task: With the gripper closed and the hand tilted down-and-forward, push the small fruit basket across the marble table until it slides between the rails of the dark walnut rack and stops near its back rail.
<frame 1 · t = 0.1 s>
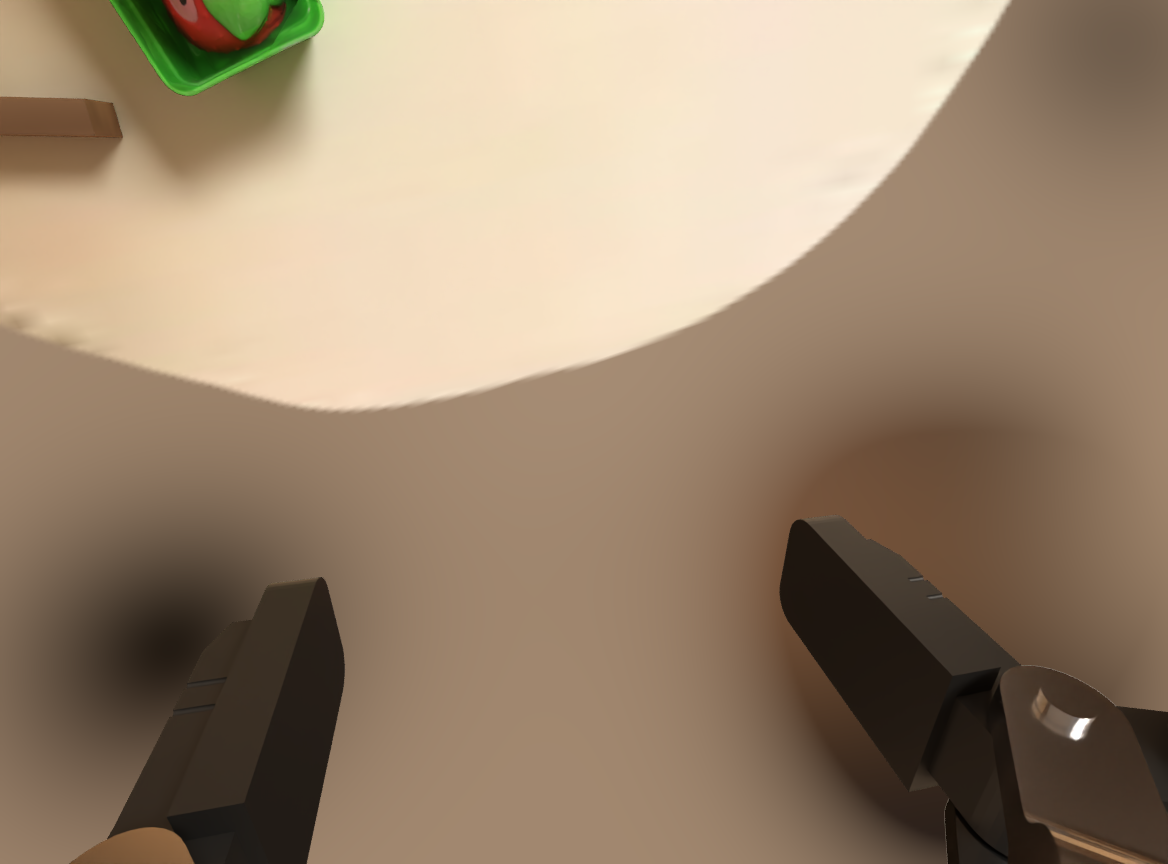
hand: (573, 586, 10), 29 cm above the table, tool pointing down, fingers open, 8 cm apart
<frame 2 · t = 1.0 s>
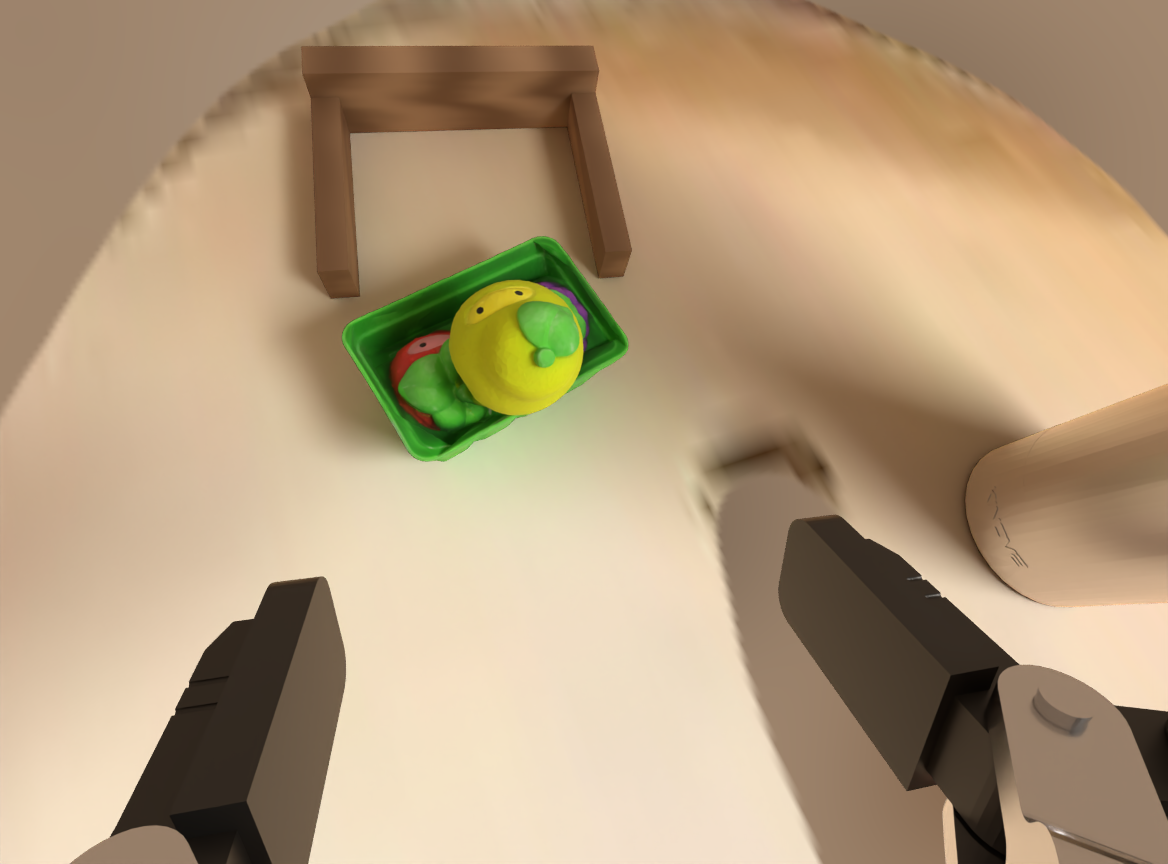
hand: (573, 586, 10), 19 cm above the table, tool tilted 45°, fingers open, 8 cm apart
fruit basket: (497, 393, 31), on the table
rack: (469, 187, 35), on the table
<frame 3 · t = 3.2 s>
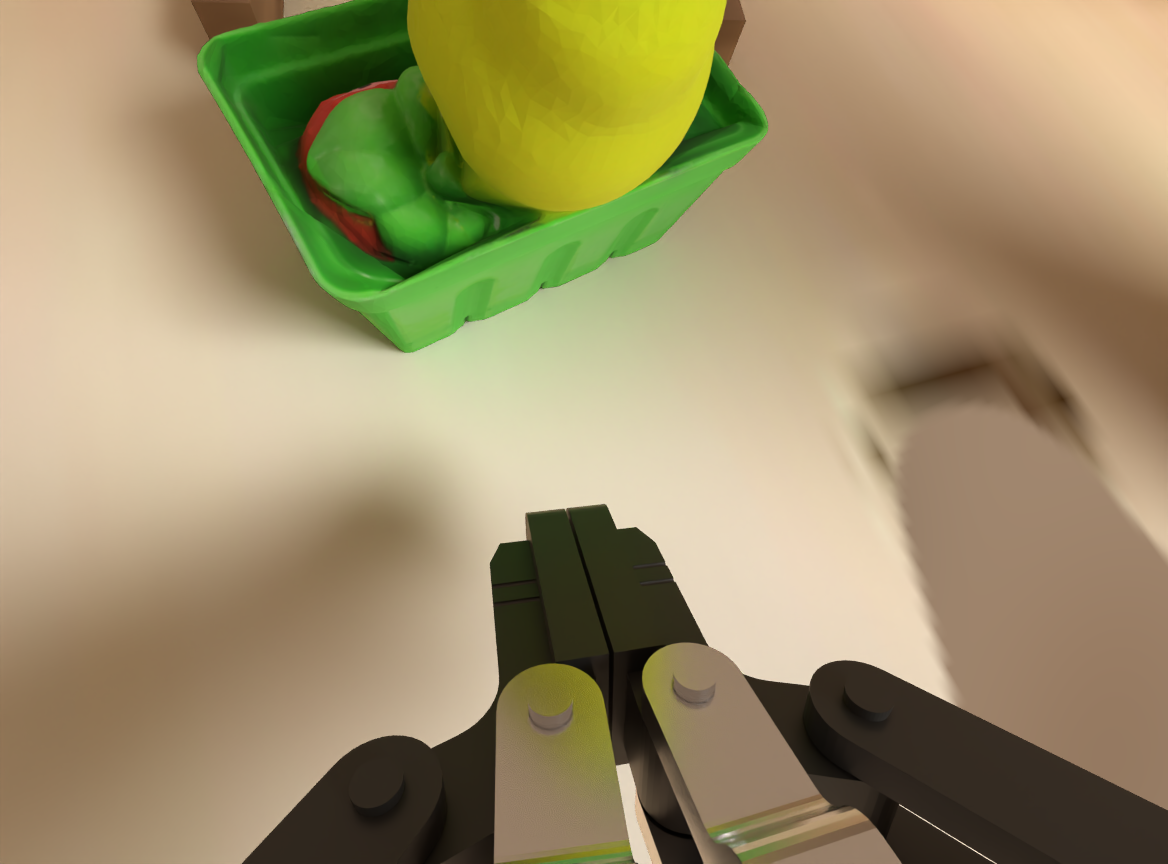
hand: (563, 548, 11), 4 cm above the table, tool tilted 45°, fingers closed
fruit basket: (511, 250, 18), on the table
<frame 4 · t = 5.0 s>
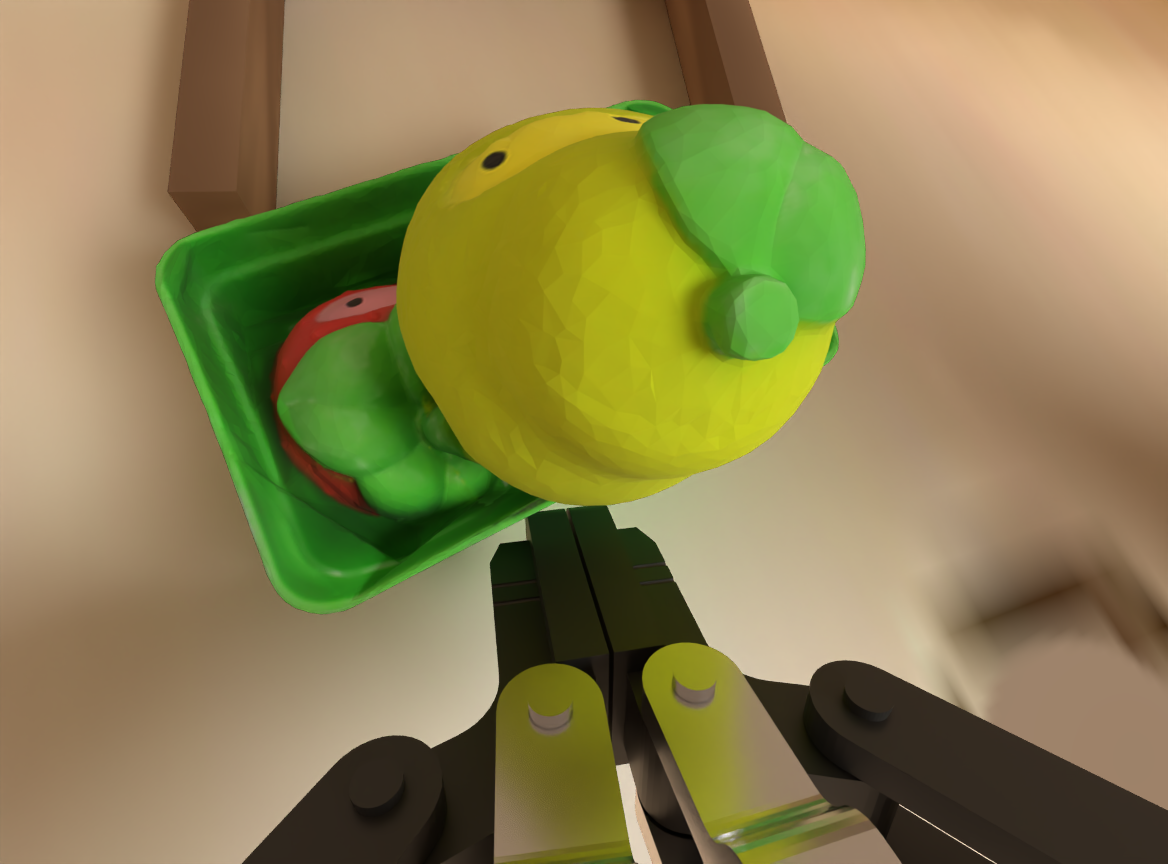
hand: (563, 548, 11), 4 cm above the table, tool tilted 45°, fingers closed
fruit basket: (526, 426, 16), on the table, touching gripper
rack: (495, 75, 20), on the table
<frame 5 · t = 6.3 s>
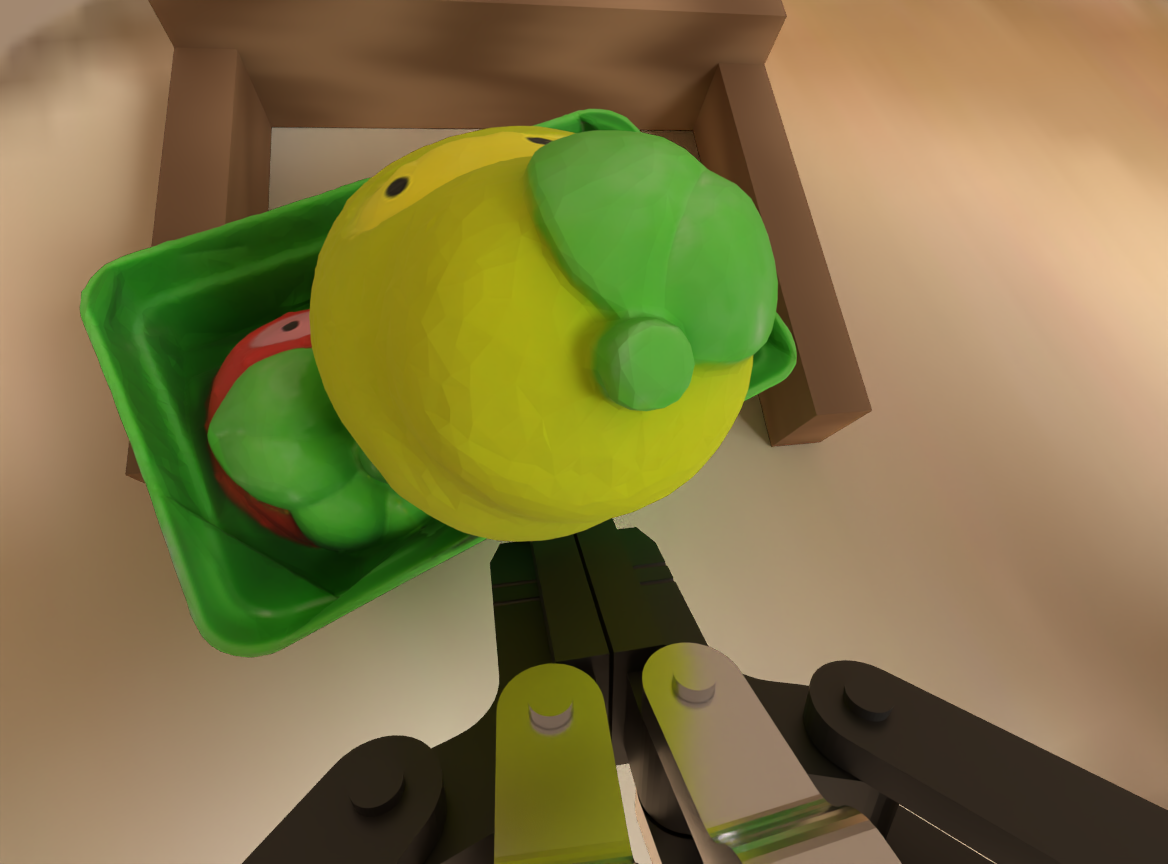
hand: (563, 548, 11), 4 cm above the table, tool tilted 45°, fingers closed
fruit basket: (488, 443, 15), on the table, touching gripper
rack: (508, 245, 17), on the table
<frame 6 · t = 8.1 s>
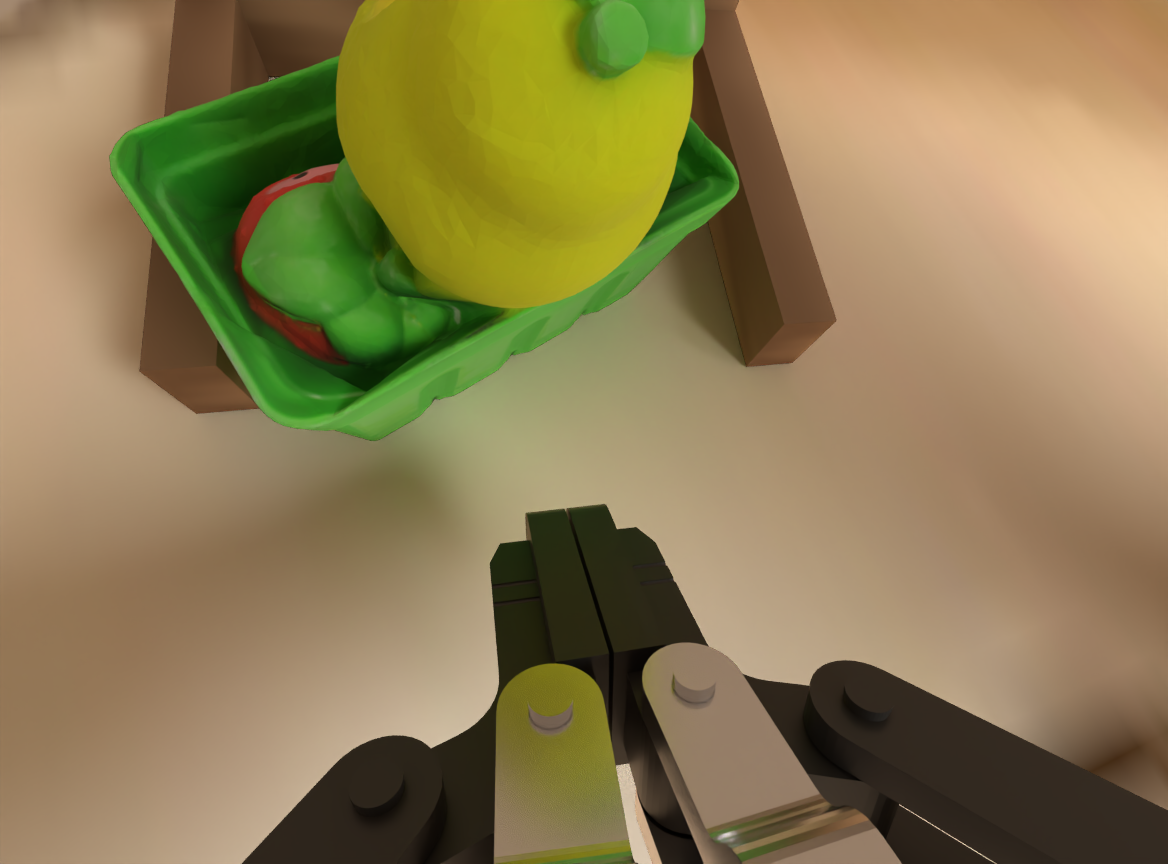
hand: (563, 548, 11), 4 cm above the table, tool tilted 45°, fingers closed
fruit basket: (476, 314, 17), on the table
rack: (495, 184, 18), on the table
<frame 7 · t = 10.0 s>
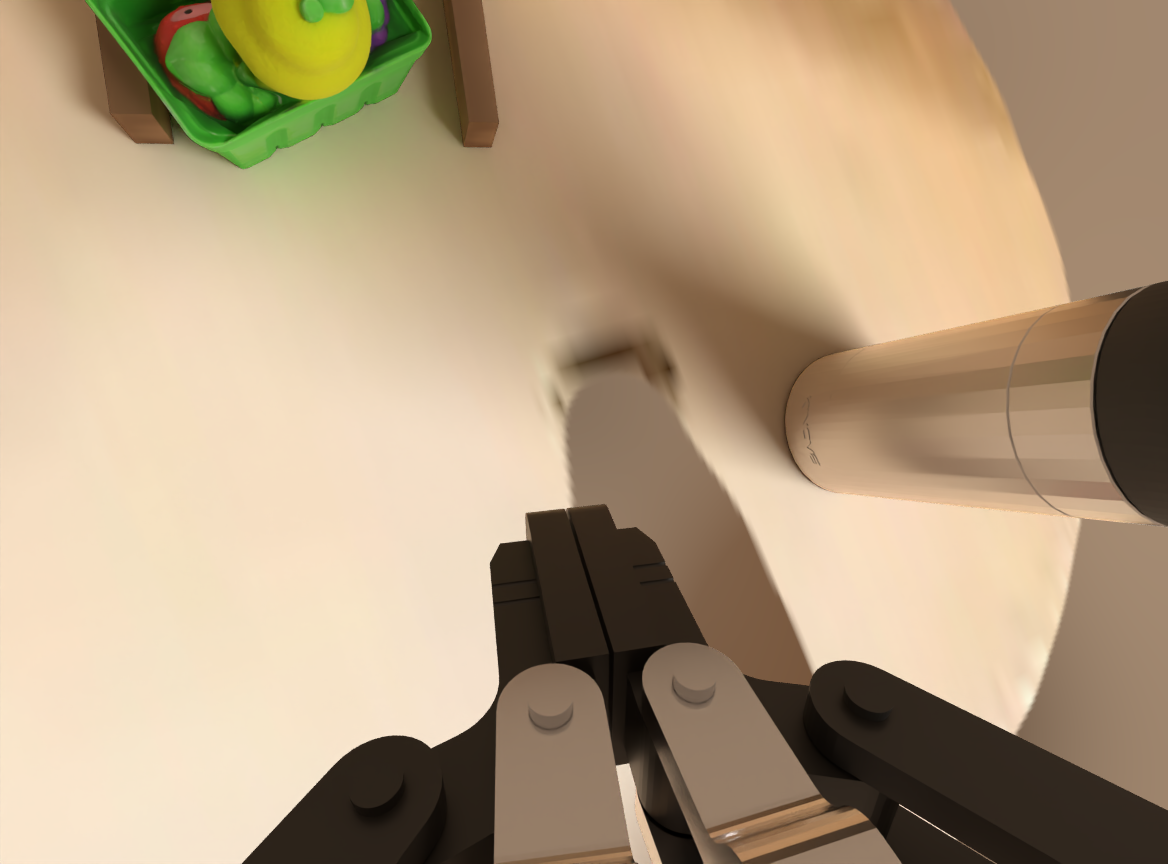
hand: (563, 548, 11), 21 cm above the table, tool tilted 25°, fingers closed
fruit basket: (300, 97, 29), on the table
rack: (308, 5, 29), on the table
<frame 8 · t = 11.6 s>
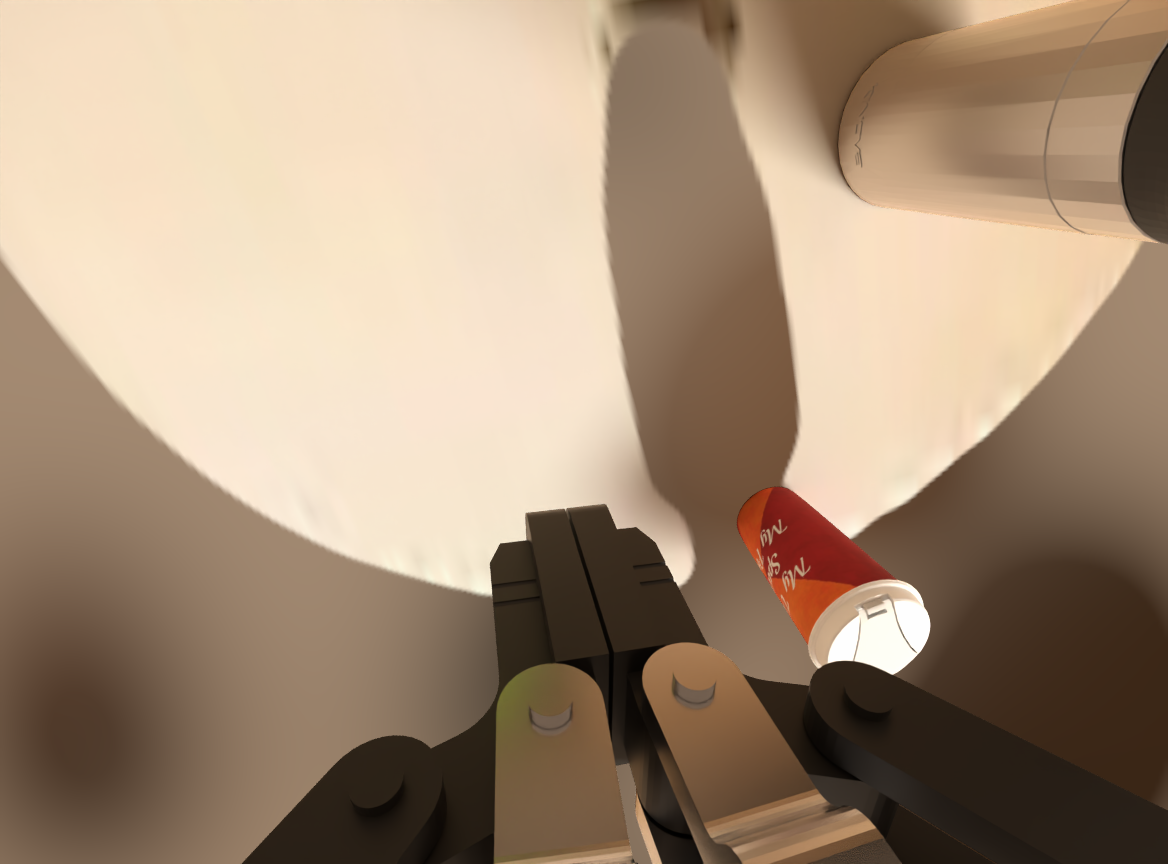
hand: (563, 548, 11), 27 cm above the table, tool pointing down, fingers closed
paper cup: (767, 515, 47), on the table
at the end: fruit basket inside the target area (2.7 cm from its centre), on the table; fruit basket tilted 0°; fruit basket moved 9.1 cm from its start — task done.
